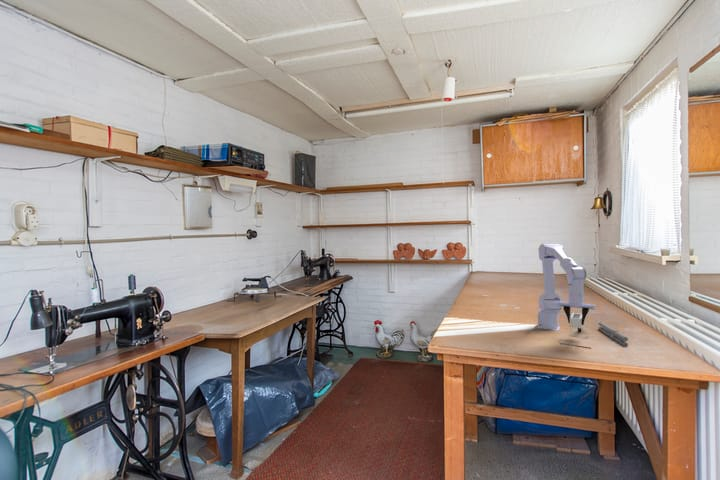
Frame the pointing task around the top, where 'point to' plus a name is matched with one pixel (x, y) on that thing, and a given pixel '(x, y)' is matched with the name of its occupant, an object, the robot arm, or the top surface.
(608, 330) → the metal rod assembly
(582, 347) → the rubber mat
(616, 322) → the top surface
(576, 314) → the steel link
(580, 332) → the post stand
